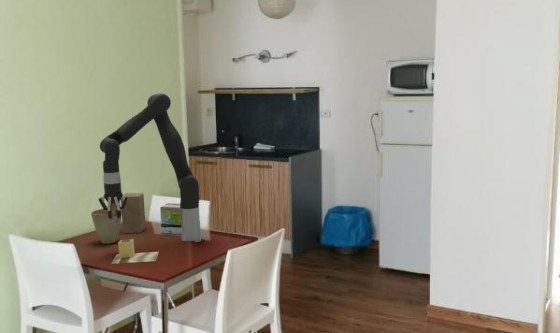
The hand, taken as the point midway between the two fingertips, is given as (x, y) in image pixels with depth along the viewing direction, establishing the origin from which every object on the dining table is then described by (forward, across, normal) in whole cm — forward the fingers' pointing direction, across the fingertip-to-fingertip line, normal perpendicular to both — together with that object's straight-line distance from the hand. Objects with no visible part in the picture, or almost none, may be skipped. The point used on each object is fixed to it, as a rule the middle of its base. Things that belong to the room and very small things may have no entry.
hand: (115, 218), depth 259 cm
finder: (+16, +6, -9) cm, 19 cm away
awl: (+2, 0, 0) cm, 2 cm away
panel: (+17, +10, -12) cm, 23 cm away
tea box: (+17, +25, +35) cm, 47 cm away
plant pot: (+17, -9, +23) cm, 30 cm away
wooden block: (+17, +1, +43) cm, 46 cm away
